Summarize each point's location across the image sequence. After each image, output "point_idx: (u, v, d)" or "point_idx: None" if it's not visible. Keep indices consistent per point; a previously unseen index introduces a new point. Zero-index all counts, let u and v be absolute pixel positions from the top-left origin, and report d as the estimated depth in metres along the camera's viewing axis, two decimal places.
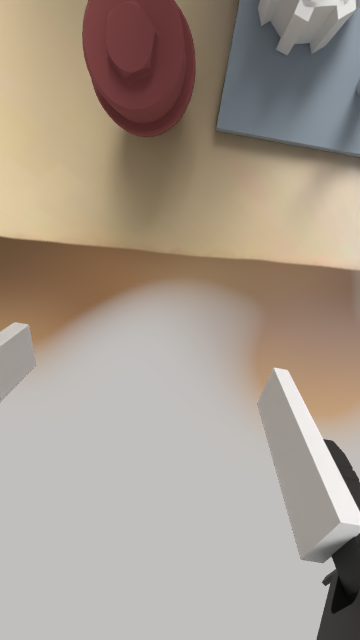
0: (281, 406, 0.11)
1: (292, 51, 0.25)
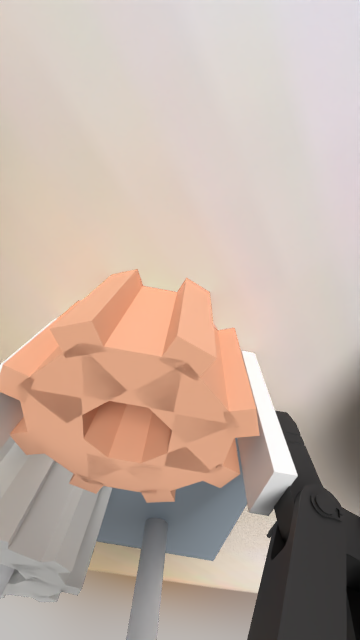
0: None
1: None
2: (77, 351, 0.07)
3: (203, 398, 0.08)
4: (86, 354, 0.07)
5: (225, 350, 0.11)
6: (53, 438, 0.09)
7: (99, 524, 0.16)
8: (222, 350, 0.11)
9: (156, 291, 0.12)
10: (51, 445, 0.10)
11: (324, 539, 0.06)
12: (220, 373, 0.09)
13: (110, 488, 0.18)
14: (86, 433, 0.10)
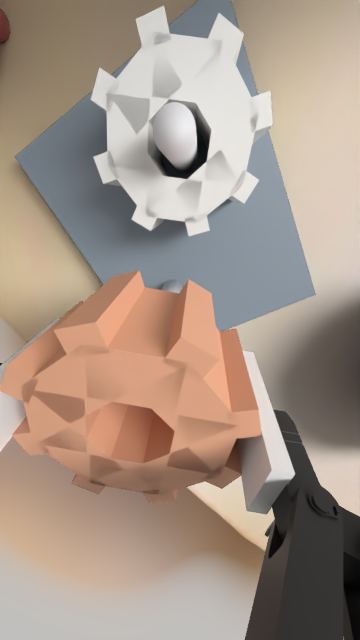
0: None
1: None
2: (81, 352, 0.07)
3: (206, 399, 0.08)
4: (90, 355, 0.07)
5: (226, 351, 0.11)
6: (56, 439, 0.09)
7: None
8: (224, 351, 0.11)
9: (158, 292, 0.12)
10: (54, 445, 0.10)
11: (321, 537, 0.06)
12: (222, 374, 0.09)
13: None
14: (89, 434, 0.10)
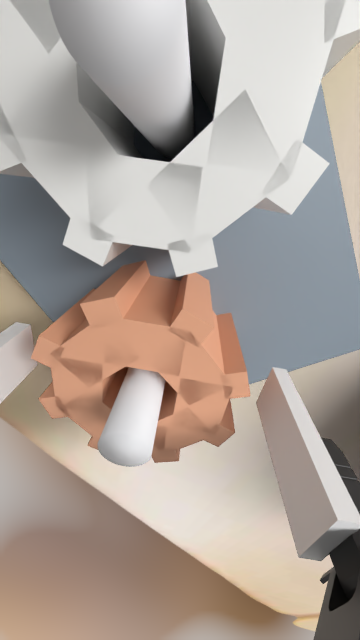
0: (279, 405, 0.11)
1: None
2: (101, 323, 0.09)
3: (203, 362, 0.09)
4: (109, 325, 0.09)
5: (222, 330, 0.13)
6: (76, 402, 0.11)
7: None
8: (220, 330, 0.13)
9: (162, 279, 0.13)
10: (74, 409, 0.11)
11: None
12: (218, 346, 0.11)
13: None
14: (104, 398, 0.11)
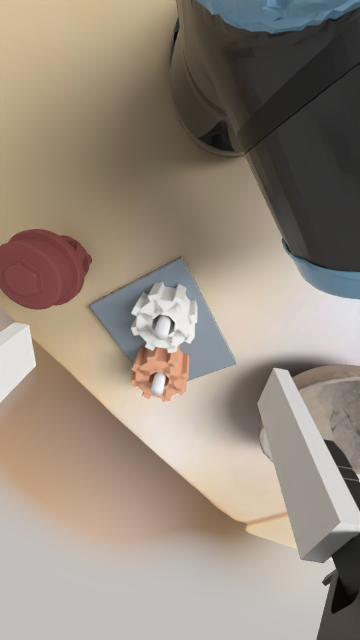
0: (280, 406, 0.11)
1: None
2: (150, 361, 0.38)
3: (175, 371, 0.38)
4: (152, 362, 0.38)
5: (183, 360, 0.41)
6: (141, 381, 0.40)
7: None
8: (182, 360, 0.41)
9: None
10: (140, 383, 0.40)
11: None
12: (180, 366, 0.40)
13: None
14: (148, 380, 0.40)
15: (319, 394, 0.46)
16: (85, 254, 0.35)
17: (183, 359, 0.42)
